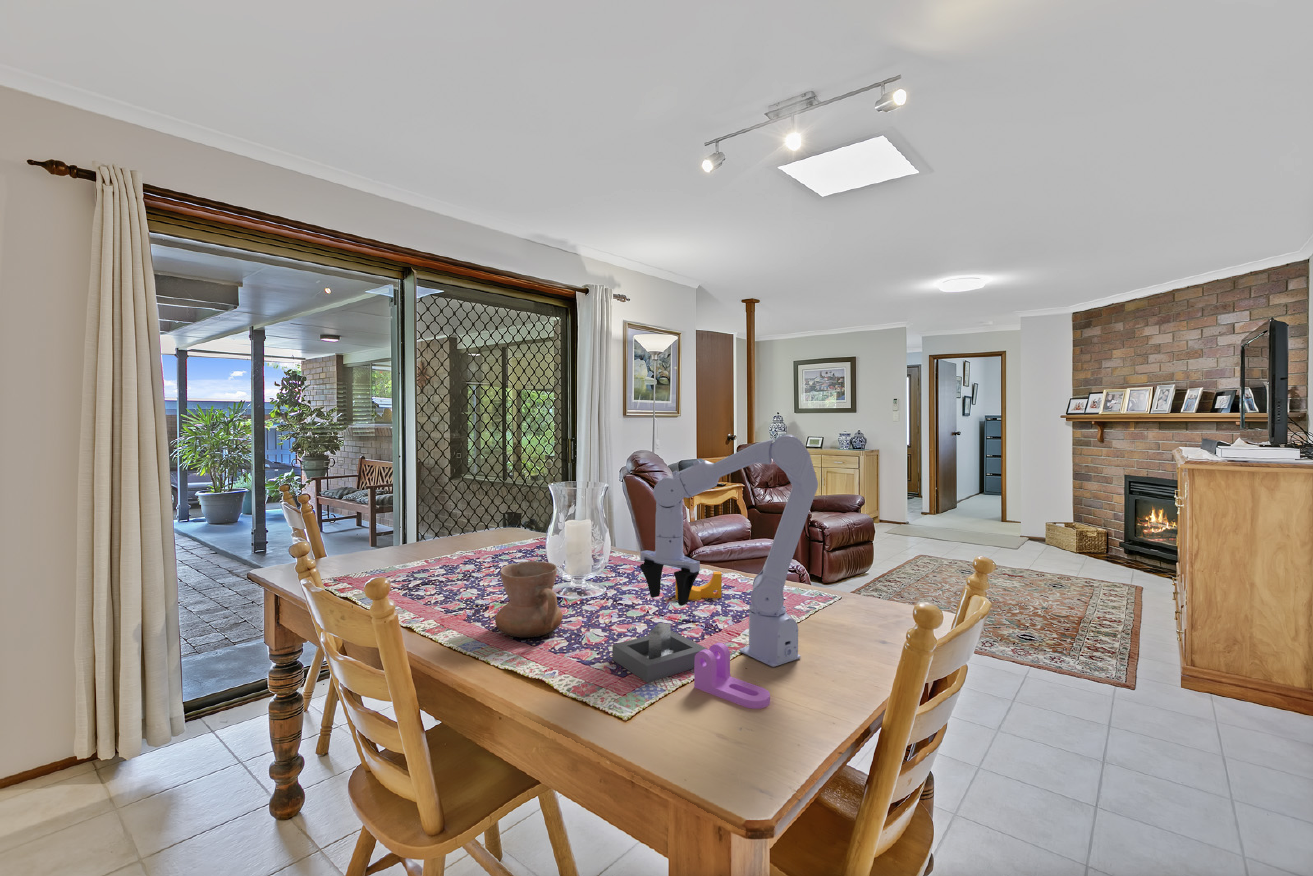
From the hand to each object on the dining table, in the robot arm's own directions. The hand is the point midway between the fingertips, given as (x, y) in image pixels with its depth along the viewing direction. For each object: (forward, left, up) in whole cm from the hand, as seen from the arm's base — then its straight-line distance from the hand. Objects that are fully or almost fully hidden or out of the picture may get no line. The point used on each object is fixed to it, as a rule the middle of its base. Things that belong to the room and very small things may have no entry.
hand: (668, 600), depth 122 cm
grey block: (-6, +6, -9) cm, 12 cm away
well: (-6, +6, -9) cm, 13 cm away
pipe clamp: (+22, -26, -10) cm, 35 cm away
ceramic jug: (+23, +20, -10) cm, 32 cm away
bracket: (-23, +3, -10) cm, 26 cm away
